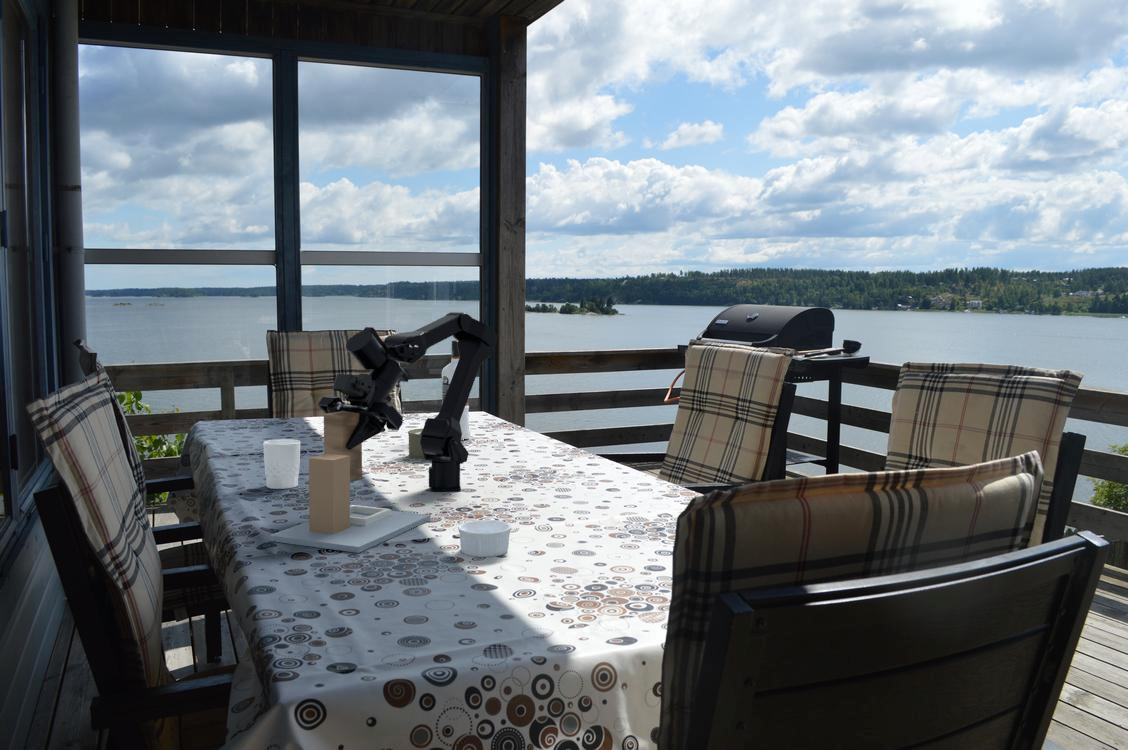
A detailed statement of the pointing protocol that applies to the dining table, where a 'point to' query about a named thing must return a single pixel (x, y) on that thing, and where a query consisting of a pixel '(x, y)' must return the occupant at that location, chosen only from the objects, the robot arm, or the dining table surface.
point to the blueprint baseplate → (353, 533)
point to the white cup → (282, 463)
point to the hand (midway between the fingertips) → (337, 447)
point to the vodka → (446, 379)
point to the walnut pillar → (343, 439)
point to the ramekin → (484, 538)
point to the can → (415, 444)
